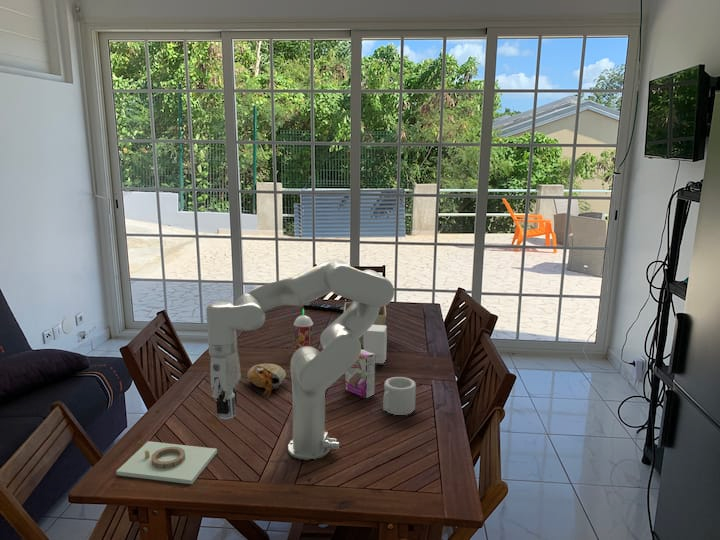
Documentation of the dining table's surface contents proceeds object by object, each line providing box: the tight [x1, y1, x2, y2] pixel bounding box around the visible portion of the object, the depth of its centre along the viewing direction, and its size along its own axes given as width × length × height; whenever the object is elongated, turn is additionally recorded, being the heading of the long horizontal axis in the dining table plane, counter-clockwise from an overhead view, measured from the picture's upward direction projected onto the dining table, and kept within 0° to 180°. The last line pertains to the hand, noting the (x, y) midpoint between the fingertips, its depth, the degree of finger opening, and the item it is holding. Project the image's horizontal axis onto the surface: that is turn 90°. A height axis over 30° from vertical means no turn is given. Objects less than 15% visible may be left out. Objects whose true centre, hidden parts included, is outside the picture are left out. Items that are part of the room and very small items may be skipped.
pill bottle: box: [218, 387, 237, 420], centre depth 153 cm, size 5×5×8 cm
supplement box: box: [362, 324, 388, 363], centre depth 231 cm, size 9×9×15 cm
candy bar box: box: [344, 348, 376, 399], centre depth 201 cm, size 11×5×16 cm, turn 47°
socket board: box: [116, 440, 218, 485], centre depth 156 cm, size 22×16×3 cm
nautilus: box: [246, 363, 287, 398], centre depth 205 cm, size 8×22×15 cm
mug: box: [382, 376, 417, 416], centre depth 188 cm, size 14×11×10 cm
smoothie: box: [293, 308, 314, 352], centre depth 239 cm, size 8×8×20 cm
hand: (227, 408), depth 154 cm, fingers closed on pill bottle, 4 cm apart
